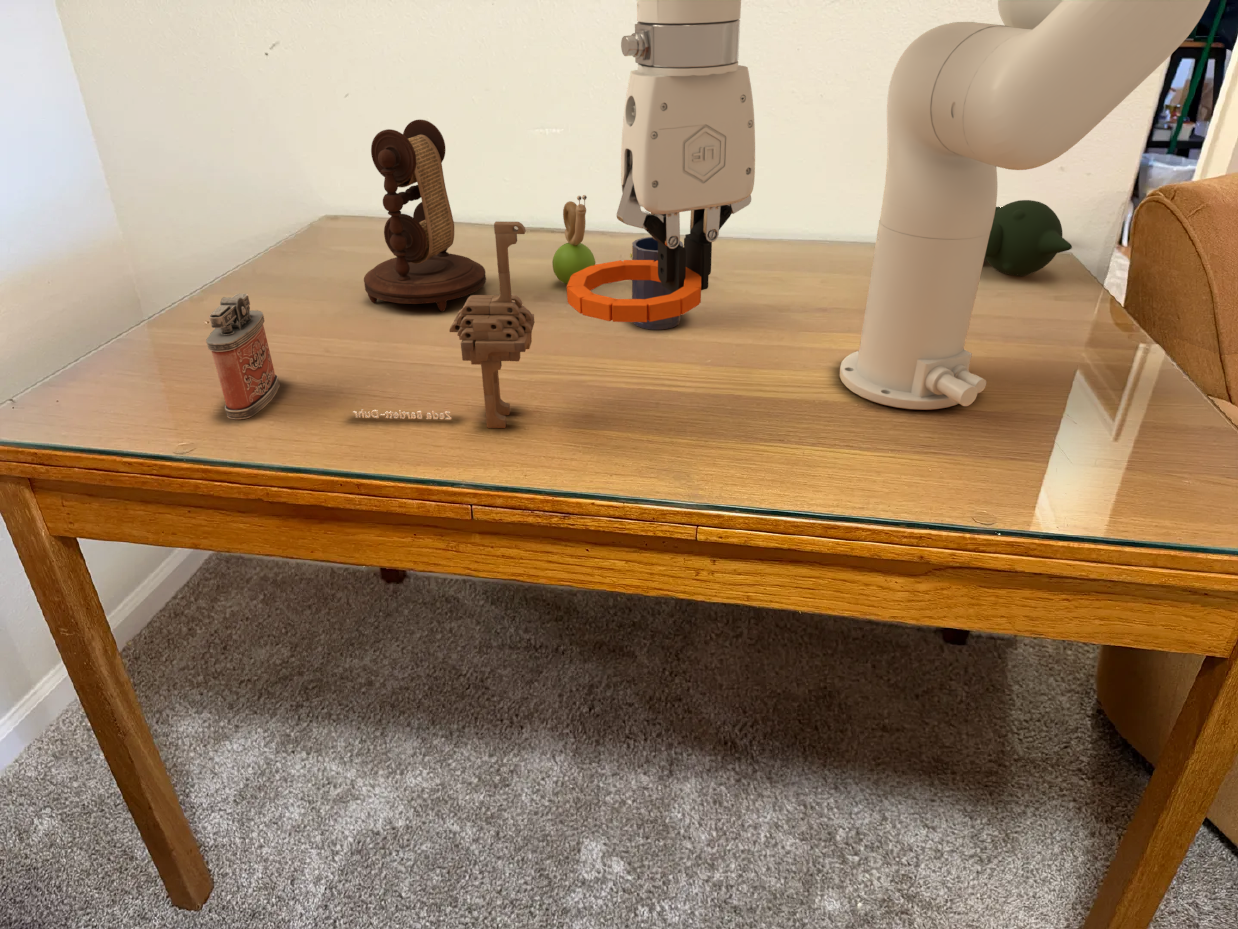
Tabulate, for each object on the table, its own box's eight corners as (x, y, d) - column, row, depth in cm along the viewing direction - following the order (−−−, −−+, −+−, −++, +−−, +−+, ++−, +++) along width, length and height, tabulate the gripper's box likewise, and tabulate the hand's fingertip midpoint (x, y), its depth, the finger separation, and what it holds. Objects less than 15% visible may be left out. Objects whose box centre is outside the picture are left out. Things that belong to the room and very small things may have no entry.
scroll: (451, 321, 98) (431, 139, 87) (342, 307, 102) (310, 131, 92) (506, 281, 110) (494, 116, 99) (406, 269, 114) (384, 110, 103)
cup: (688, 325, 97) (692, 247, 92) (644, 333, 95) (645, 254, 90) (666, 309, 101) (668, 234, 96) (624, 316, 99) (624, 240, 95)
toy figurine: (918, 188, 122) (1014, 207, 100) (1040, 187, 125) (1161, 206, 102) (909, 254, 126) (999, 287, 103) (1028, 252, 128) (1142, 284, 106)
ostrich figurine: (542, 403, 80) (531, 211, 71) (534, 438, 74) (521, 234, 65) (365, 401, 81) (332, 210, 71) (344, 435, 75) (304, 233, 66)
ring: (725, 306, 68) (726, 289, 68) (601, 332, 65) (600, 314, 64) (662, 267, 77) (662, 252, 76) (549, 288, 73) (548, 272, 72)
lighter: (253, 381, 85) (229, 284, 79) (287, 381, 84) (264, 284, 79) (218, 419, 78) (189, 316, 72) (254, 419, 78) (228, 316, 72)
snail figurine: (564, 296, 105) (561, 198, 99) (547, 281, 110) (542, 186, 104) (605, 290, 107) (603, 193, 100) (586, 275, 112) (584, 182, 106)
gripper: (612, 61, 57) (619, 318, 67) (805, 45, 62) (786, 285, 72) (571, 51, 63) (582, 289, 73) (750, 37, 68) (739, 260, 78)
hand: (684, 285), depth 72 cm, fingers closed on ring, 1 cm apart
